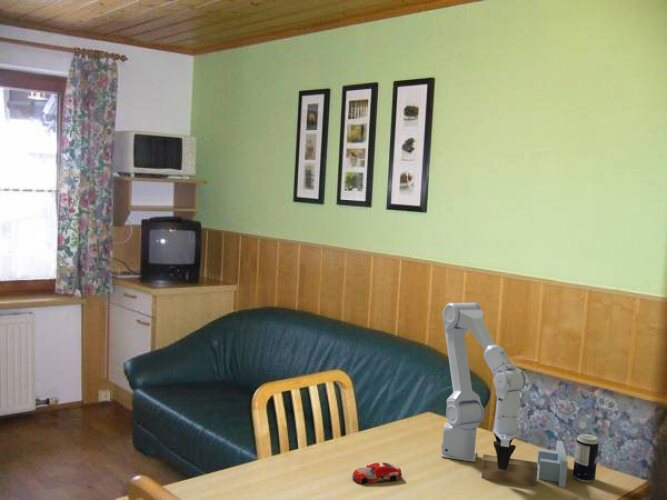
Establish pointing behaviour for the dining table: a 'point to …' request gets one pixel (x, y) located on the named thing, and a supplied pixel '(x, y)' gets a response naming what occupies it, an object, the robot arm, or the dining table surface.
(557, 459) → the pale blue bench
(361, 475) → the race car
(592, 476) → the beverage can
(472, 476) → the dining table surface
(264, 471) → the dining table surface
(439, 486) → the dining table surface
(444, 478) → the dining table surface
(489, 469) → the brown wooden block
